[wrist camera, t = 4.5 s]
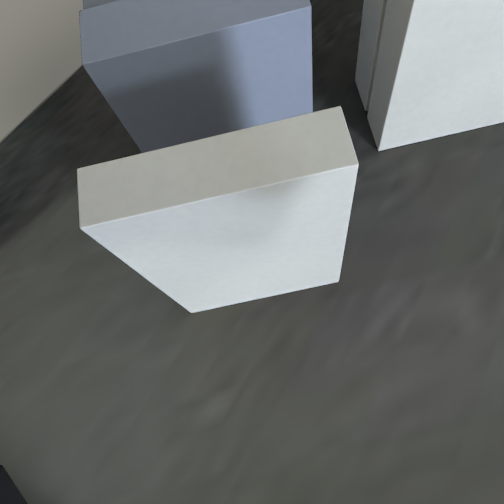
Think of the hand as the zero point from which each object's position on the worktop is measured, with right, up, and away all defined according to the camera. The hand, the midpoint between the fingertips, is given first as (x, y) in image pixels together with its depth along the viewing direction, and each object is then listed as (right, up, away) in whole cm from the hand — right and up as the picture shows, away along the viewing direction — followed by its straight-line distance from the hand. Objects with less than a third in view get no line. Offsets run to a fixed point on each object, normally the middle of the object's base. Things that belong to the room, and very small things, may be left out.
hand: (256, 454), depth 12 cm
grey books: (-2, +16, +23) cm, 28 cm away
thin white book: (0, +3, +18) cm, 19 cm away
